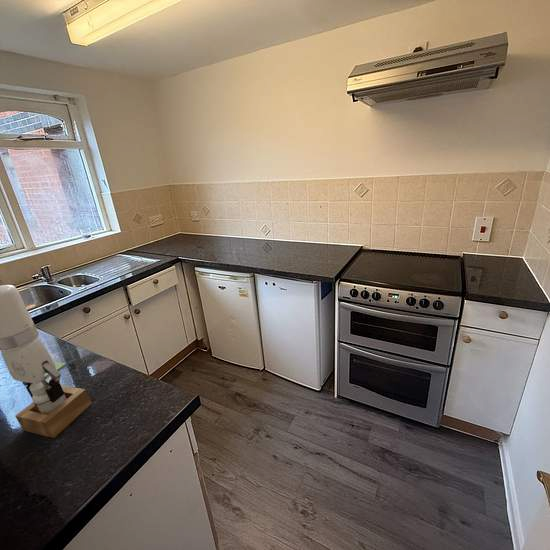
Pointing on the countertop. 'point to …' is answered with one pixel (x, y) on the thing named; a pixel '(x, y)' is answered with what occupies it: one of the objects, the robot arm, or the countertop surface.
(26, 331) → the robot arm
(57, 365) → the mat
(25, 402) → the countertop surface
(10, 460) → the countertop surface
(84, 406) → the box
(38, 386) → the pill bottle
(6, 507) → the countertop surface
